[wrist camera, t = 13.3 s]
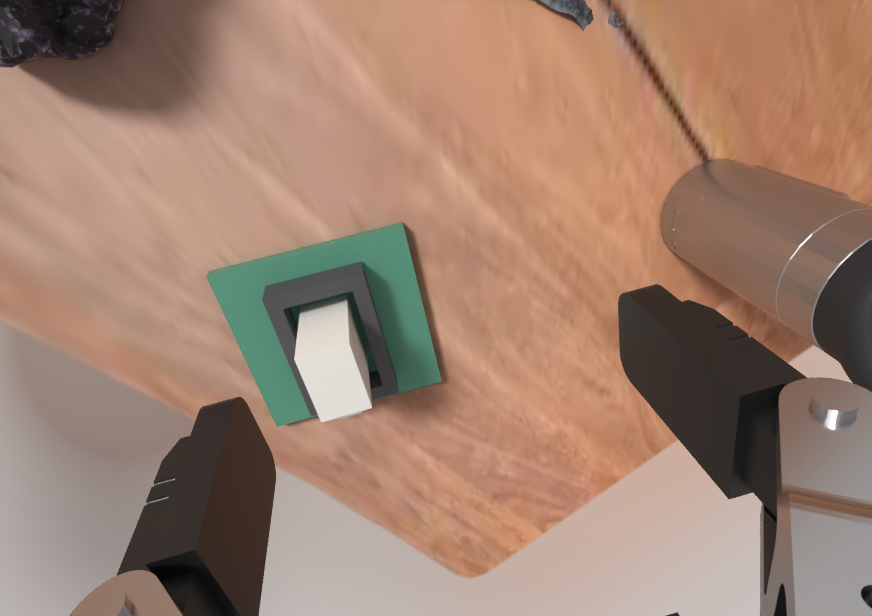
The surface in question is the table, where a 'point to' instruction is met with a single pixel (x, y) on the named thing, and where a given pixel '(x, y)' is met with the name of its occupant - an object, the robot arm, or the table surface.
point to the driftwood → (579, 11)
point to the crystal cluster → (54, 29)
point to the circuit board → (320, 280)
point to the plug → (333, 359)
